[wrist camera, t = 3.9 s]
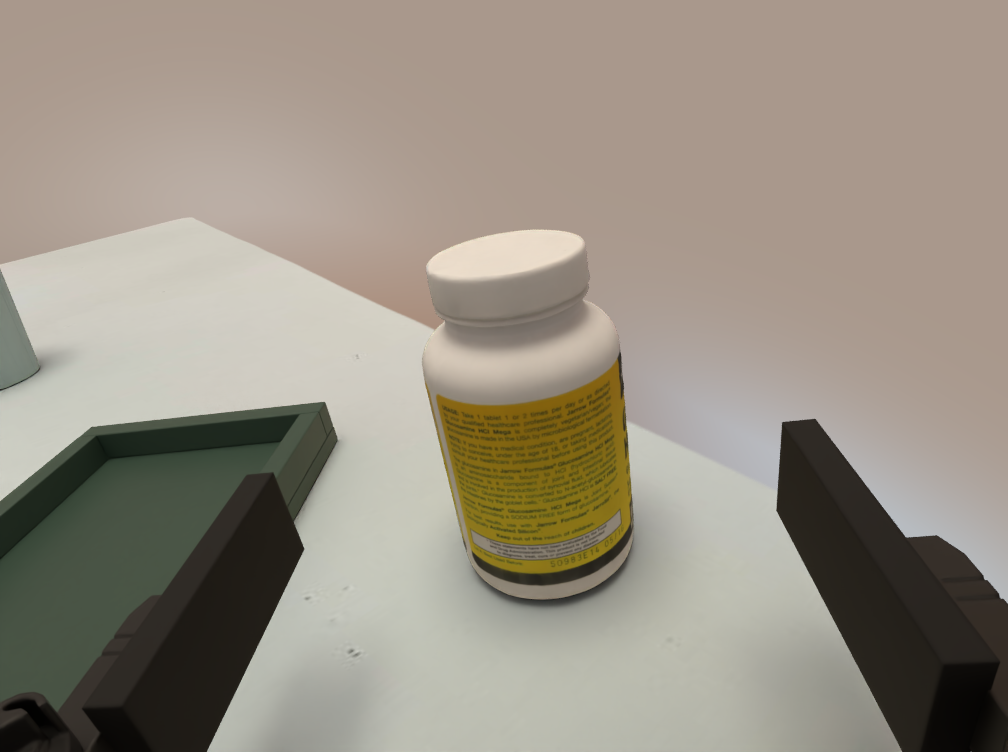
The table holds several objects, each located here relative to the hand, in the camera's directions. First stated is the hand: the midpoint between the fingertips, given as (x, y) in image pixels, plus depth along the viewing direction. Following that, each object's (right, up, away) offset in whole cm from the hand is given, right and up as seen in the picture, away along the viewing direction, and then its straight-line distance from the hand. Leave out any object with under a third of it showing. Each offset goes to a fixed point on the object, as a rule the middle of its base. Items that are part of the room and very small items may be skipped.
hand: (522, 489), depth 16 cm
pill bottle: (+1, -3, +7) cm, 8 cm away
